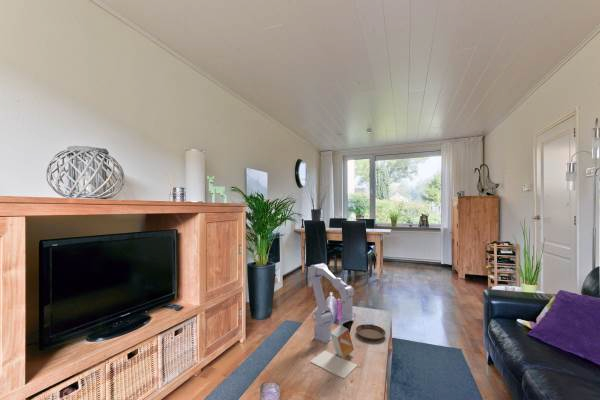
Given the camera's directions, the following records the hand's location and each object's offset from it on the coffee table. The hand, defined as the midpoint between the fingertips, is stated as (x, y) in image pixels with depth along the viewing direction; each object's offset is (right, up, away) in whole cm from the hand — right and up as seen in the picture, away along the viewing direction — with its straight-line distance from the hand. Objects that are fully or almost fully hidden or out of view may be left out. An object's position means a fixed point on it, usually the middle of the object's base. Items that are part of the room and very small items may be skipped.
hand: (347, 334), depth 144 cm
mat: (-9, -10, -10) cm, 17 cm away
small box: (-1, -9, -2) cm, 9 cm away
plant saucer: (+18, -11, +19) cm, 28 cm away
